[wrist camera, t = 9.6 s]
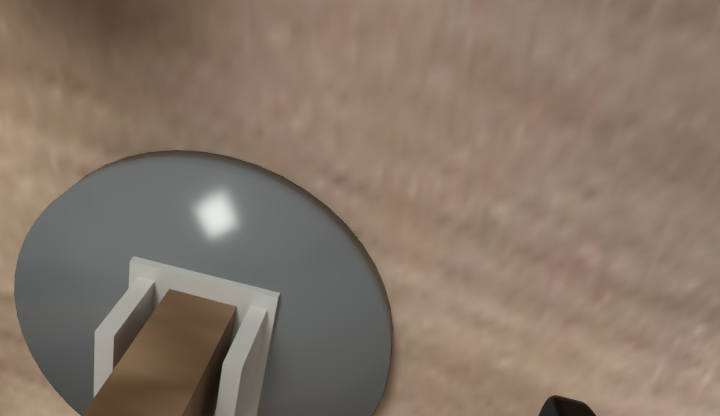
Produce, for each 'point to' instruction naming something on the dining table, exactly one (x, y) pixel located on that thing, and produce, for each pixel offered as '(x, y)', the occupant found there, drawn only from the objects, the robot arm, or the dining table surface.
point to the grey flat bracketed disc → (207, 283)
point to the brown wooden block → (171, 361)
